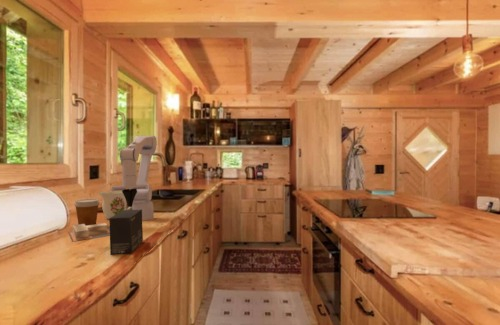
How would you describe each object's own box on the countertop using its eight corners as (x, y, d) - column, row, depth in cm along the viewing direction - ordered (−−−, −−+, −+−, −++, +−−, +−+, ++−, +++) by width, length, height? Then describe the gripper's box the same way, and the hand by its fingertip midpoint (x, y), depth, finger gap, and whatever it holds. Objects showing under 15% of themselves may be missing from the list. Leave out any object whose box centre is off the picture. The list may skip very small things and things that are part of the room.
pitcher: (138, 216, 139) (138, 190, 139) (102, 222, 126) (101, 193, 125) (129, 213, 147) (128, 188, 146) (93, 219, 133) (93, 191, 133)
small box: (123, 242, 97) (123, 209, 97) (143, 241, 98) (142, 209, 98) (109, 255, 84) (108, 217, 84) (131, 254, 85) (131, 217, 85)
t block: (103, 228, 114) (103, 221, 114) (109, 234, 104) (109, 226, 104) (72, 232, 107) (72, 225, 107) (76, 239, 97) (76, 231, 97)
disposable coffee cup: (104, 225, 121) (104, 199, 121) (90, 230, 112) (89, 202, 111) (85, 224, 122) (84, 198, 122) (69, 230, 113) (68, 202, 112)
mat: (123, 225, 121) (123, 224, 121) (133, 233, 108) (133, 231, 108) (68, 233, 108) (68, 232, 108) (72, 243, 95) (72, 242, 95)
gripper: (113, 176, 109) (113, 209, 109) (149, 175, 118) (149, 205, 118) (109, 175, 114) (109, 207, 114) (144, 174, 123) (144, 203, 123)
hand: (129, 206), depth 116 cm, fingers closed
